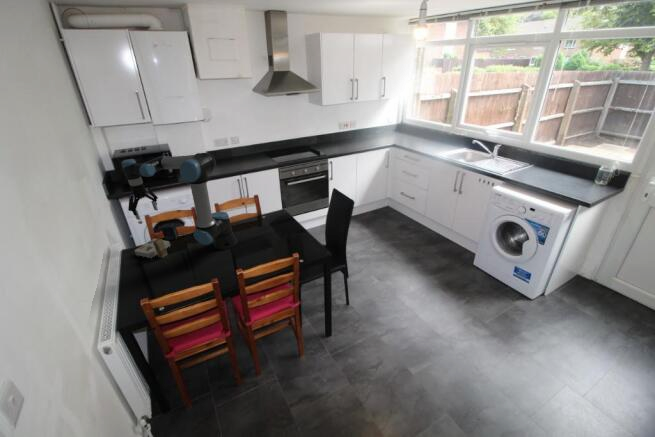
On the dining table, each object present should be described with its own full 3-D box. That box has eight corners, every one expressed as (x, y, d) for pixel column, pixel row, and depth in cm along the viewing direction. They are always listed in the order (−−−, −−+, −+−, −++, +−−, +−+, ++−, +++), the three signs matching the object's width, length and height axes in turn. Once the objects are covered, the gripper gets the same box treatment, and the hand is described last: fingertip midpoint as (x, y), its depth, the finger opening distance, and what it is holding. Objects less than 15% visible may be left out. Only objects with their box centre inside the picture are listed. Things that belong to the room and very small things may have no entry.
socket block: (170, 246, 220) (168, 241, 218) (151, 259, 207) (149, 253, 205) (155, 243, 225) (153, 238, 223) (136, 255, 212) (134, 250, 210)
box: (178, 235, 233) (174, 222, 228) (176, 239, 228) (172, 226, 223) (167, 236, 232) (163, 224, 227) (165, 240, 227) (160, 227, 222)
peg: (168, 255, 210) (162, 239, 204) (163, 258, 207) (157, 242, 201) (163, 254, 211) (157, 238, 206) (158, 257, 208) (152, 241, 203)
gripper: (149, 176, 211) (159, 206, 221) (113, 191, 191) (126, 222, 201) (157, 177, 208) (167, 207, 218) (122, 192, 188) (134, 224, 198)
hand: (147, 214), depth 209 cm, fingers open, 13 cm apart
